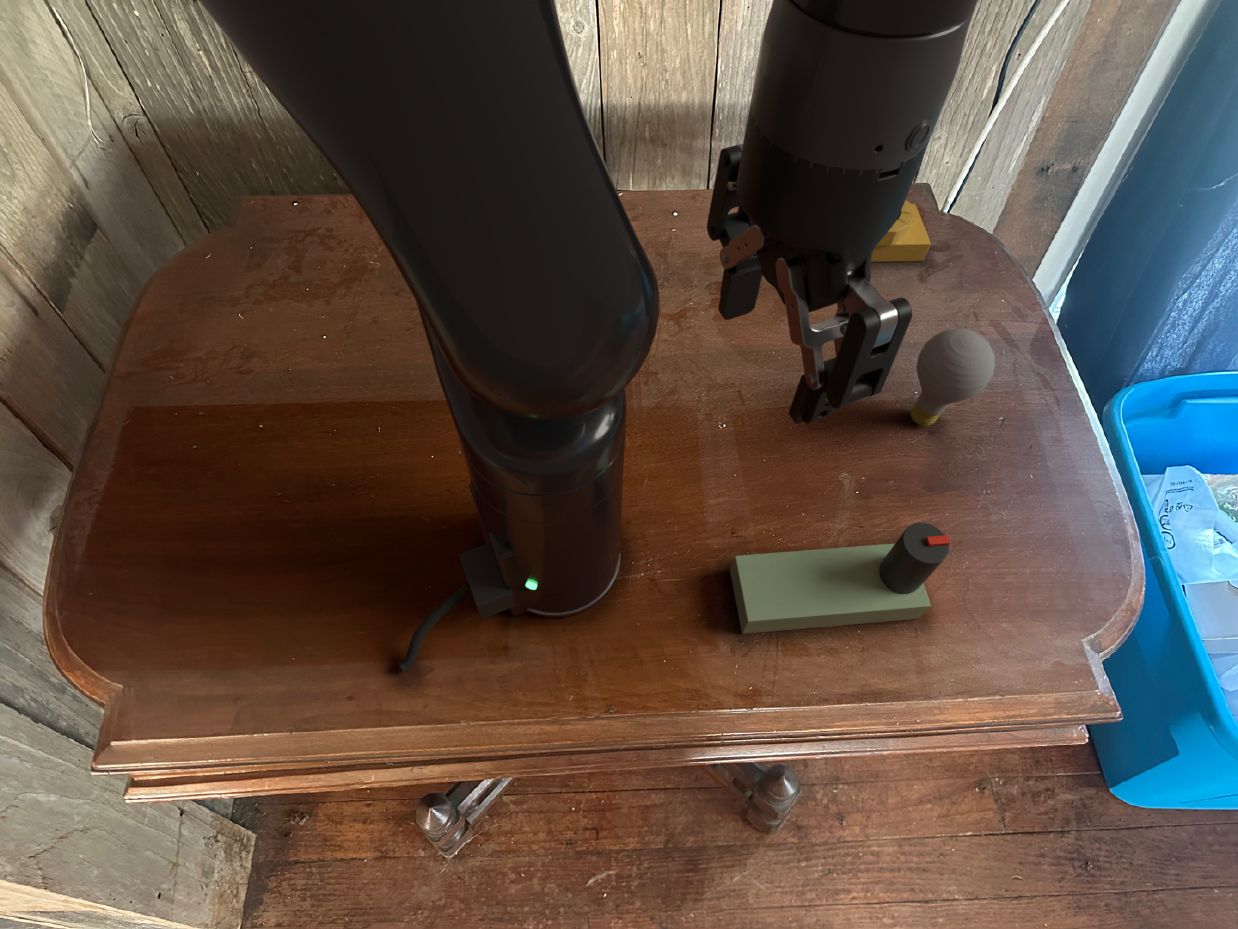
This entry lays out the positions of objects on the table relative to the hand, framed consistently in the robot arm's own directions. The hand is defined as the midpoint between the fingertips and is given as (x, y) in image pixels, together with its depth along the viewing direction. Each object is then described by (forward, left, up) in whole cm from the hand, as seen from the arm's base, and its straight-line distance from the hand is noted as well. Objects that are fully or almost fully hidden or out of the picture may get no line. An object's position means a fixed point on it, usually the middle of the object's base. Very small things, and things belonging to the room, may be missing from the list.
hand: (769, 362), depth 44 cm
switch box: (+27, +22, -17) cm, 39 cm away
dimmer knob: (+8, -11, -15) cm, 20 cm away
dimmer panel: (+3, -9, -17) cm, 20 cm away
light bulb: (+19, +1, -17) cm, 26 cm away
